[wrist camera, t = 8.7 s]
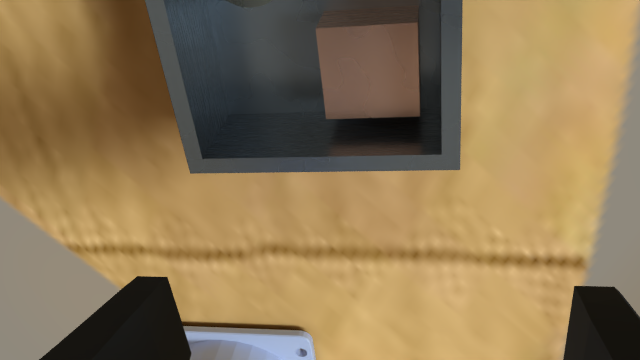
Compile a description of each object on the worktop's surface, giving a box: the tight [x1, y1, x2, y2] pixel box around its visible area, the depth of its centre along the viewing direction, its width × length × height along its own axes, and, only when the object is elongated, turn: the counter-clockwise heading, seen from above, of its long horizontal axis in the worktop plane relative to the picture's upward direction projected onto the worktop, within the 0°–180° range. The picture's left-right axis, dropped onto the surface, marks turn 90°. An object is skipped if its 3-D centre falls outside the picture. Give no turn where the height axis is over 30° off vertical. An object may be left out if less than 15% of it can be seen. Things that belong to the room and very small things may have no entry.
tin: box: [145, 0, 462, 173], centre depth 17 cm, size 8×8×4 cm
